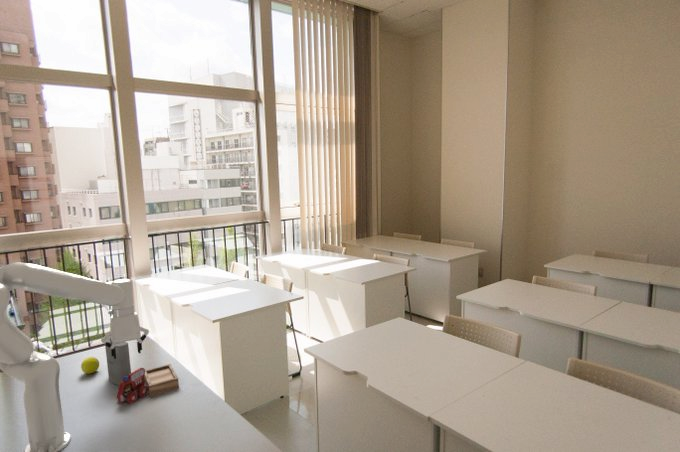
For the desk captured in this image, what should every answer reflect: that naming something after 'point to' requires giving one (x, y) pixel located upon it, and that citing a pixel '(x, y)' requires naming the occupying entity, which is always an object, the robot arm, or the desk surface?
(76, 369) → the desk surface
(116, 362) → the flask
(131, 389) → the toy fire truck
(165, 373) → the wooden tray
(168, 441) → the desk surface
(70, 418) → the desk surface
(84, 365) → the tennis ball
